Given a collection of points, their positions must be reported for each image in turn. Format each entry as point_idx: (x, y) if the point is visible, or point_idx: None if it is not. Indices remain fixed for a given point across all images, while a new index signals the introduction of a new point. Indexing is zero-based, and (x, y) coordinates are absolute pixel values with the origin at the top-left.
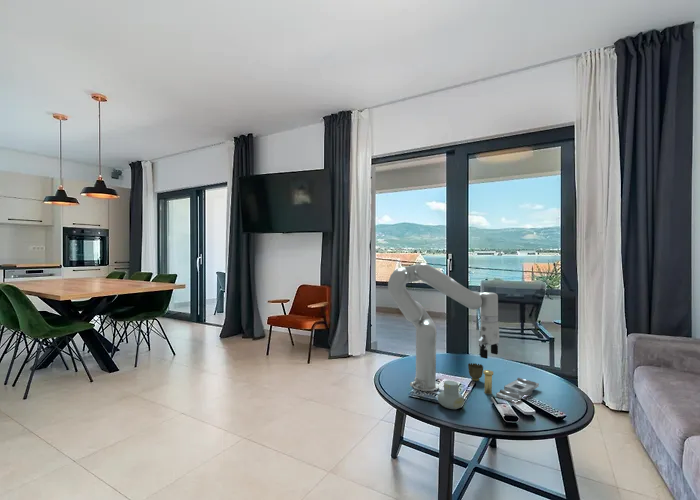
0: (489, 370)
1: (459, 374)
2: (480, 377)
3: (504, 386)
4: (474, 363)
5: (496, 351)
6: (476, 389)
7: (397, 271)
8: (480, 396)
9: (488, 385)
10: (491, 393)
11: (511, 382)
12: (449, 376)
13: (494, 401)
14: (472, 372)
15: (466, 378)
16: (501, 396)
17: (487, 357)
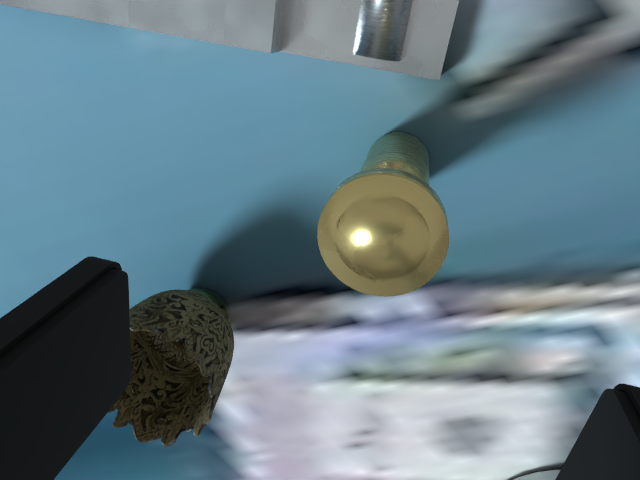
0: (325, 238)
1: None
2: (192, 291)
3: (270, 50)
4: None
5: (83, 312)
6: None
7: None
8: (521, 192)
9: (427, 174)
10: (401, 133)
11: (115, 24)
12: (264, 455)
13: (574, 54)
14: (227, 367)
15: None
16: (451, 23)
17: (633, 393)
